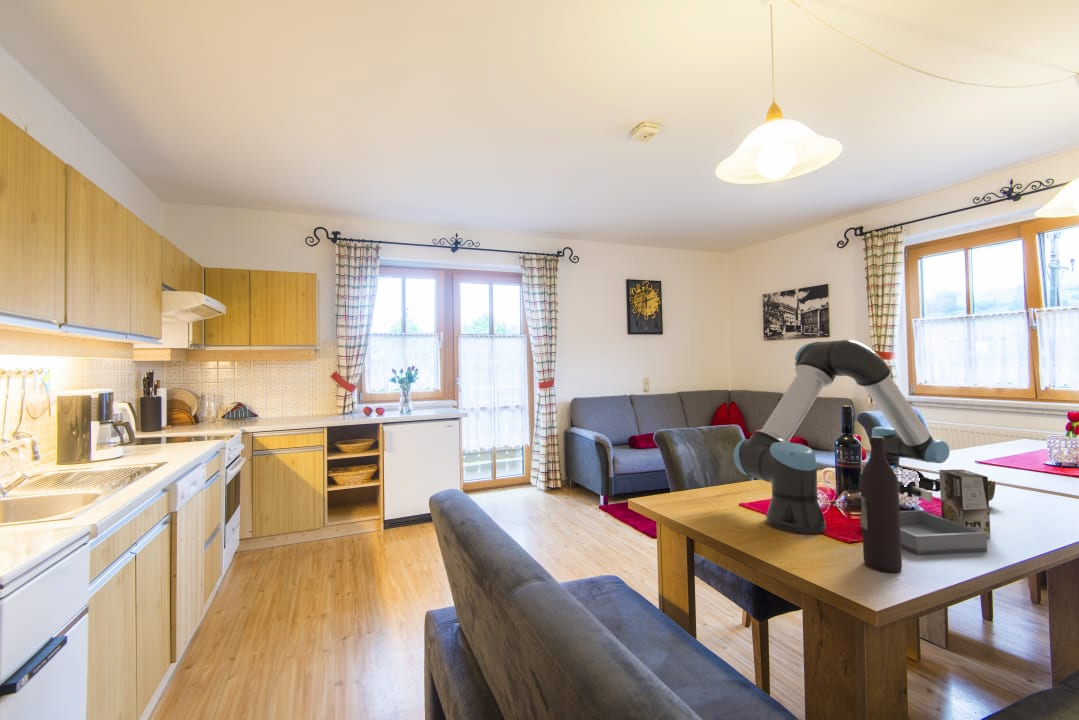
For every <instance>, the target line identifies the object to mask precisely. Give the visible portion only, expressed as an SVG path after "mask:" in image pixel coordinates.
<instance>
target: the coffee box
mask: <svg viewBox="0 0 1079 720" xmlns="http://www.w3.org/2000/svg"><path fill="white" fill-rule="evenodd" d="M938 471H939V472H938V473H939V479H940V491H939V493H940V506H941V509H940V510H941V518H944V519H947V520H950V521H953V522H956V523H959V524H961V525H964V526H967V527H970V528H973V529H976V530H979V531H981V532H984V533H986V538H989V537H990V538H991V523H990V522H991V519H990V518H991V517H990V501H989V494H988V482H989V477H988V476H985V475H982V474H979V473H976V472H972V471H969V470H965V469H938Z"/></svg>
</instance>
